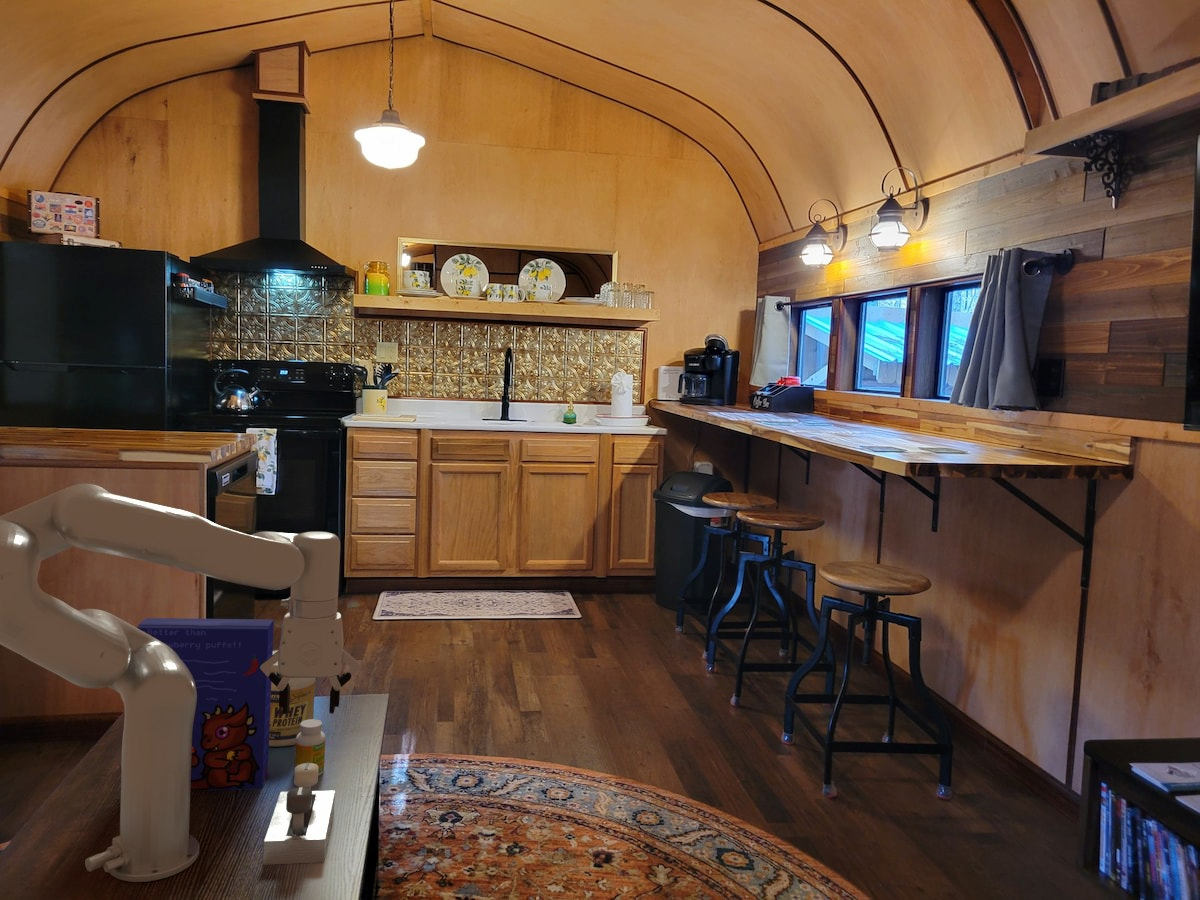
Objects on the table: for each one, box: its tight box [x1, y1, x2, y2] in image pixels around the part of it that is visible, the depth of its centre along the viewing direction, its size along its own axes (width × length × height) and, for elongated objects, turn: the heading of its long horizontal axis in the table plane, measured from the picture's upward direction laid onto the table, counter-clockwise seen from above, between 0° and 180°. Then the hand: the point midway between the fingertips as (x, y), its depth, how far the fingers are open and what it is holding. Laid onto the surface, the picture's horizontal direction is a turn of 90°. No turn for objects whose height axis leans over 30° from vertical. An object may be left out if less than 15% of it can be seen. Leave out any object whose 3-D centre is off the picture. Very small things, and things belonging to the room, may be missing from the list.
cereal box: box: [136, 617, 275, 792], centre depth 158 cm, size 22×6×30 cm, turn 101°
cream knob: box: [293, 763, 319, 791], centre depth 147 cm, size 4×4×6 cm
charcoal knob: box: [286, 786, 313, 836], centre depth 139 cm, size 4×4×6 cm
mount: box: [262, 790, 336, 866], centre depth 143 cm, size 16×9×4 cm, turn 11°
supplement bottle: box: [293, 718, 326, 777], centre depth 165 cm, size 5×5×10 cm
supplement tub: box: [269, 649, 317, 748], centre depth 180 cm, size 12×12×17 cm
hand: (309, 710), depth 146 cm, fingers open, 6 cm apart
